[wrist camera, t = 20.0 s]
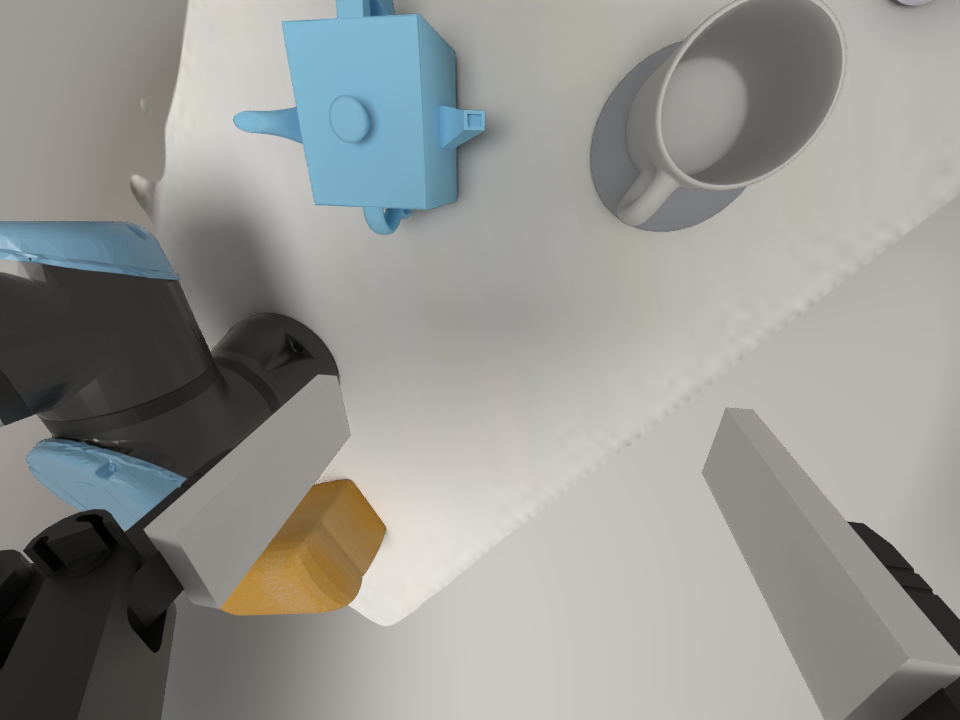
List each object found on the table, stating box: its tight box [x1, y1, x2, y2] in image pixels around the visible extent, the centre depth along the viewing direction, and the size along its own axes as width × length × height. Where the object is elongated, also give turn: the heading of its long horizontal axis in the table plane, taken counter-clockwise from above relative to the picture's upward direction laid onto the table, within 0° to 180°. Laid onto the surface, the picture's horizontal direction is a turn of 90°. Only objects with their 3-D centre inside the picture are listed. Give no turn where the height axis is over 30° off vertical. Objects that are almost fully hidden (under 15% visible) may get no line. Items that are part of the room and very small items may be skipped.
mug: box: [617, 0, 847, 226], centre depth 24 cm, size 12×8×11 cm
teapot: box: [233, 0, 485, 235], centre depth 28 cm, size 16×18×11 cm
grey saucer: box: [591, 41, 747, 232], centre depth 29 cm, size 13×13×1 cm
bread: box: [220, 479, 386, 615], centre depth 57 cm, size 24×13×15 cm, turn 114°
